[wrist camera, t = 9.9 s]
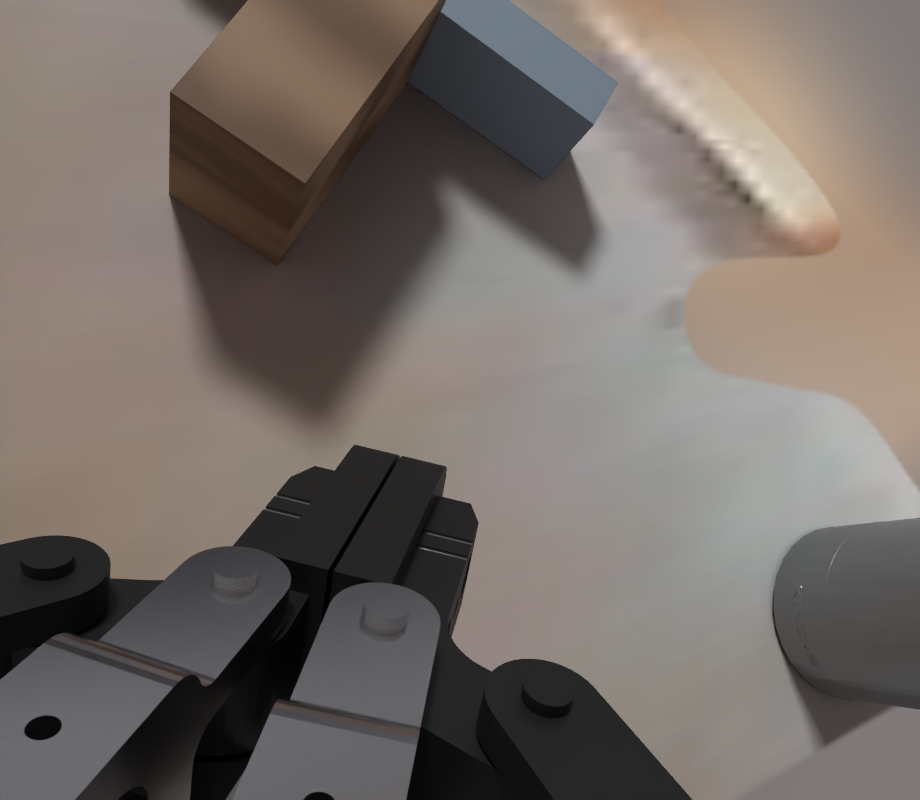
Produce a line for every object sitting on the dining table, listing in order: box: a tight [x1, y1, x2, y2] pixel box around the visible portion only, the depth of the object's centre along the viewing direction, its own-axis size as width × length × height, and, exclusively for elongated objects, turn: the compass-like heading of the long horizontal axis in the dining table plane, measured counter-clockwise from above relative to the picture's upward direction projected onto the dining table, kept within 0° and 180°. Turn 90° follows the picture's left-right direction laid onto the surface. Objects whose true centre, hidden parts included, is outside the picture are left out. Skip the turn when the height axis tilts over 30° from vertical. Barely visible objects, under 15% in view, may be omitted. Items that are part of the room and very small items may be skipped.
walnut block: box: [169, 0, 446, 265], centre depth 40 cm, size 13×6×9 cm, turn 151°
